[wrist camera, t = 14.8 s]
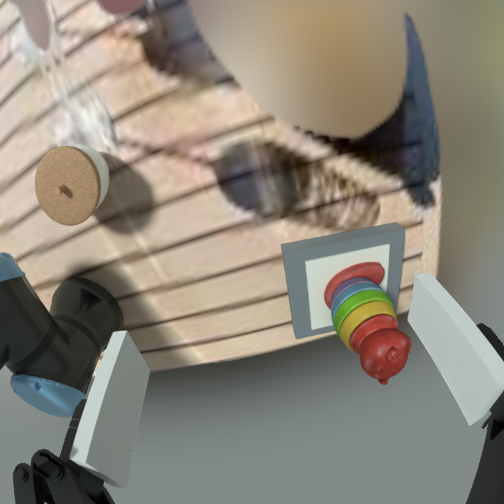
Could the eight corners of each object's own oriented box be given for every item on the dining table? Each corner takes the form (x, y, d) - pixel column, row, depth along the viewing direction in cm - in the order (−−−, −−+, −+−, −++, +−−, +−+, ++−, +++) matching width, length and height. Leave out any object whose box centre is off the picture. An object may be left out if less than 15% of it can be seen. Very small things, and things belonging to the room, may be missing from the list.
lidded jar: (54, 150, 35) (19, 164, 26) (111, 129, 35) (80, 137, 26) (72, 212, 40) (42, 237, 32) (127, 198, 40) (103, 222, 31)
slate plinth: (293, 328, 53) (296, 340, 50) (280, 244, 45) (284, 254, 42) (389, 305, 52) (396, 315, 49) (396, 222, 44) (405, 230, 41)
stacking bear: (370, 312, 48) (410, 389, 33) (317, 317, 48) (346, 402, 32) (385, 260, 43) (442, 334, 28) (327, 261, 43) (372, 346, 27)
